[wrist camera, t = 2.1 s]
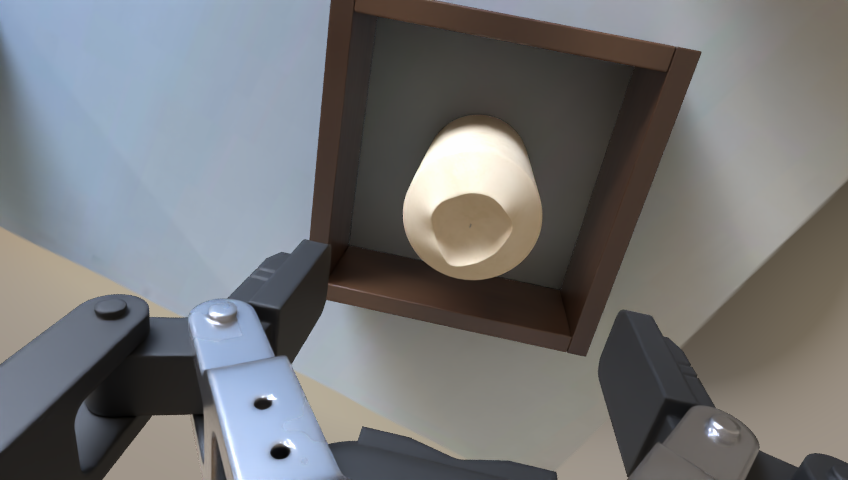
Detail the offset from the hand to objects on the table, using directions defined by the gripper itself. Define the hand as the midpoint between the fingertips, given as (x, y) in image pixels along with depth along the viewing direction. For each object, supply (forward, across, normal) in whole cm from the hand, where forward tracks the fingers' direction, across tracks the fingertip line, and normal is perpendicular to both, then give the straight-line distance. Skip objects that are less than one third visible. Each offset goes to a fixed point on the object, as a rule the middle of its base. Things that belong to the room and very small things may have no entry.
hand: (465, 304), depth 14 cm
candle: (+15, 0, 0) cm, 15 cm away
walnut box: (+15, 0, 0) cm, 15 cm away
